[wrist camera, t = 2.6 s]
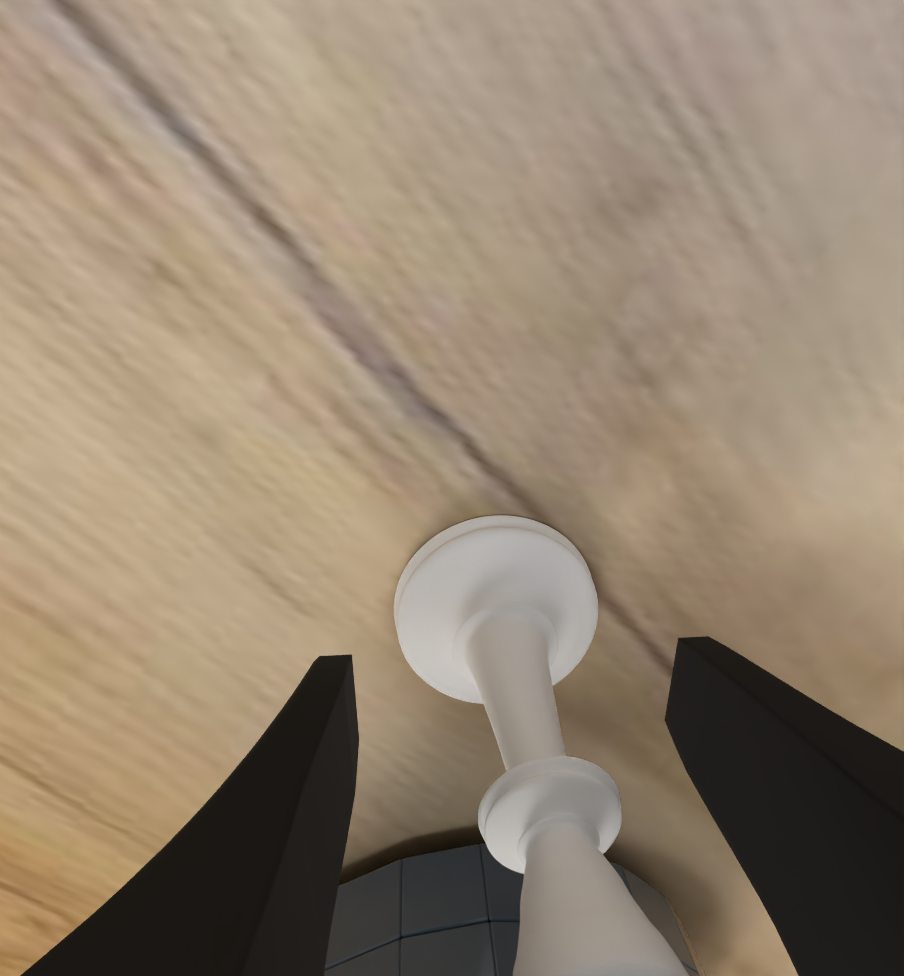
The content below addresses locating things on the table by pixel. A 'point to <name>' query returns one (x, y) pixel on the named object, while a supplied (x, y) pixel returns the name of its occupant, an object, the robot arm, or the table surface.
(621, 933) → the chess piece
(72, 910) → the table surface
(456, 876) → the bowl
